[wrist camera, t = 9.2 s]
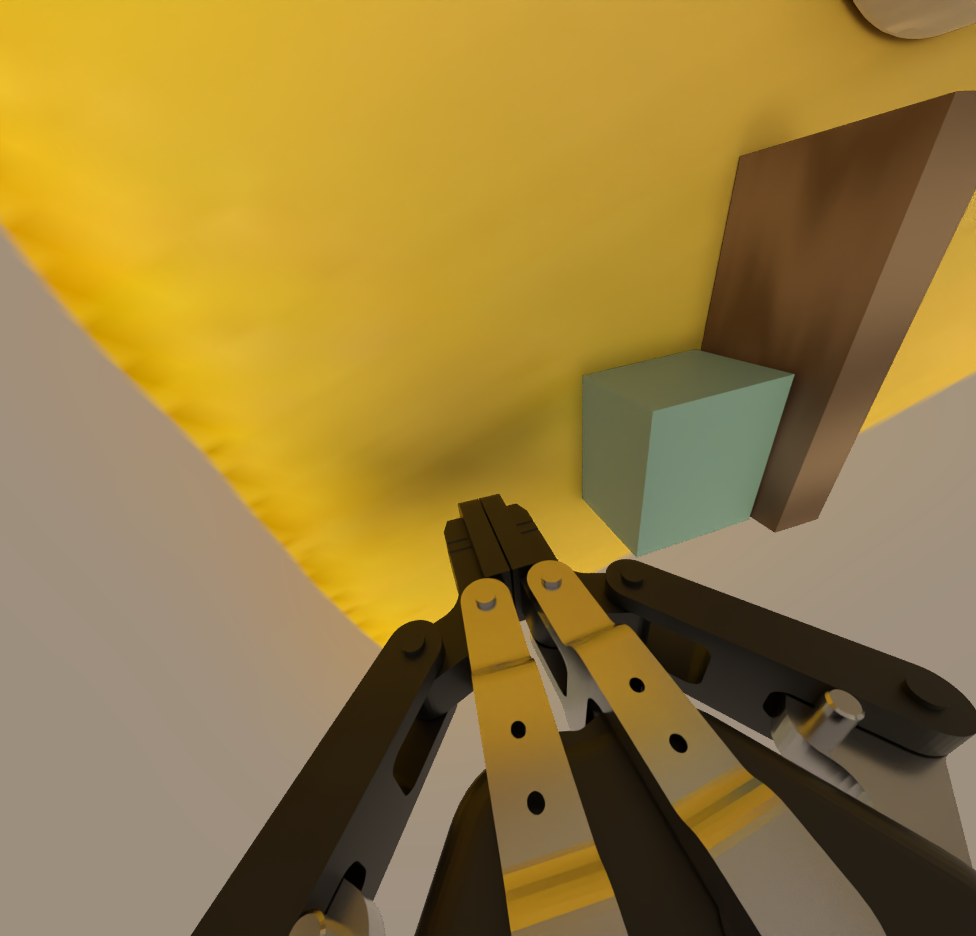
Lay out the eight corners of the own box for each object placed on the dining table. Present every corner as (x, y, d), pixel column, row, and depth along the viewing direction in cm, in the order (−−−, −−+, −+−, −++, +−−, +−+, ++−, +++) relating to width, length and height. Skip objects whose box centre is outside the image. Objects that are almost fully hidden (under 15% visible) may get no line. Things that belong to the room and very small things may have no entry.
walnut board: (740, 156, 14) (956, 91, 9) (790, 152, 14) (1024, 88, 9) (677, 468, 21) (774, 532, 16) (711, 459, 21) (817, 519, 16)
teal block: (581, 374, 16) (652, 411, 12) (692, 348, 17) (794, 374, 13) (581, 496, 20) (636, 557, 16) (673, 469, 21) (748, 519, 17)
